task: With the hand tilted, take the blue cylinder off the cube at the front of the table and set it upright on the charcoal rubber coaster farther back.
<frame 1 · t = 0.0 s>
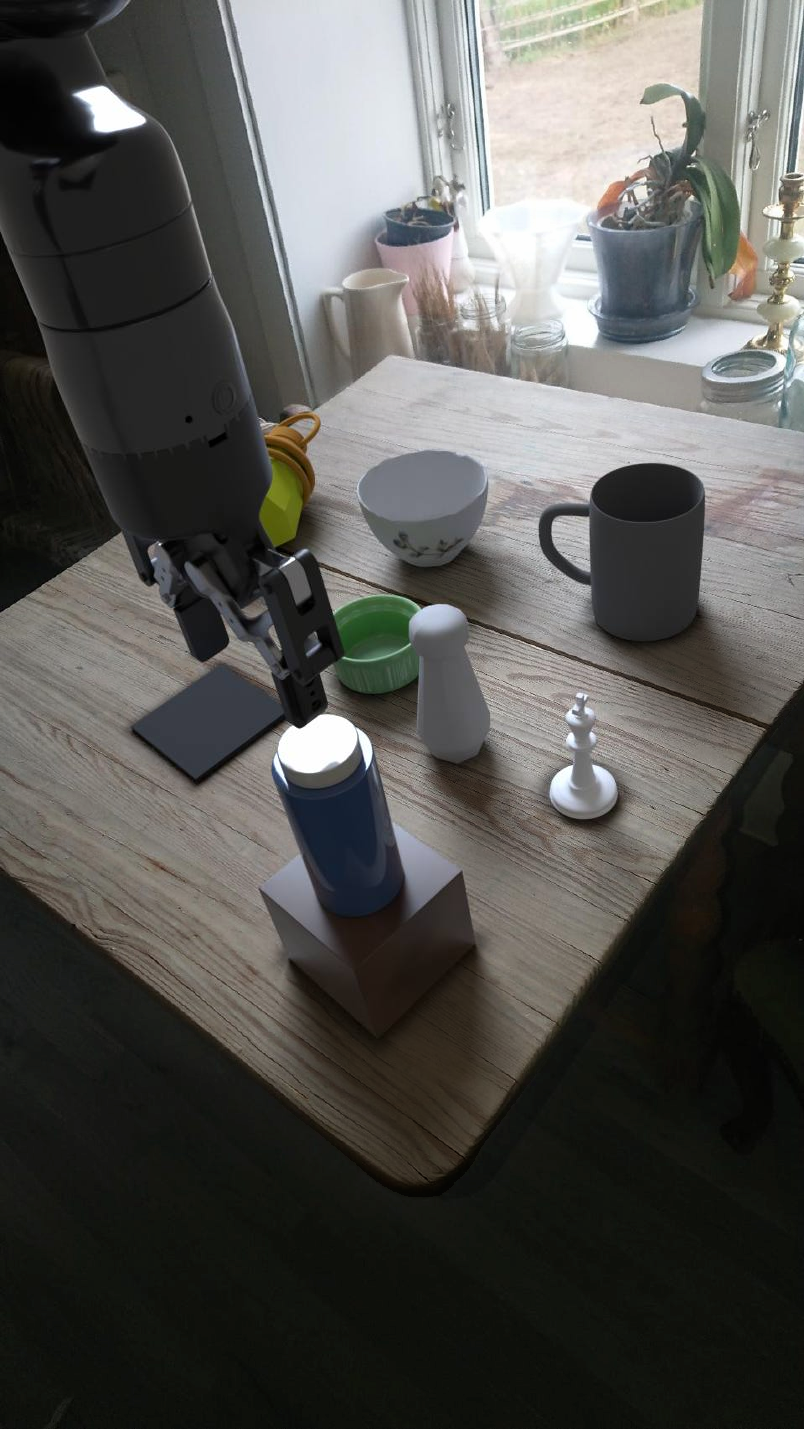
hand: (258, 683, 52), 22 cm above the table, tool pointing down, fingers open, 8 cm apart
coaster: (210, 721, 84), on the table
teacup: (434, 545, 98), on the table
chess piece: (583, 795, 72), on the table
salt shaker: (457, 745, 78), on the table
mug: (618, 609, 87), on the table
blue cylinder: (358, 878, 59), point 8 cm above the table, touching cube
ramekin: (382, 666, 86), on the table
cube: (380, 950, 65), on the table
plumb bob: (277, 524, 106), on the table
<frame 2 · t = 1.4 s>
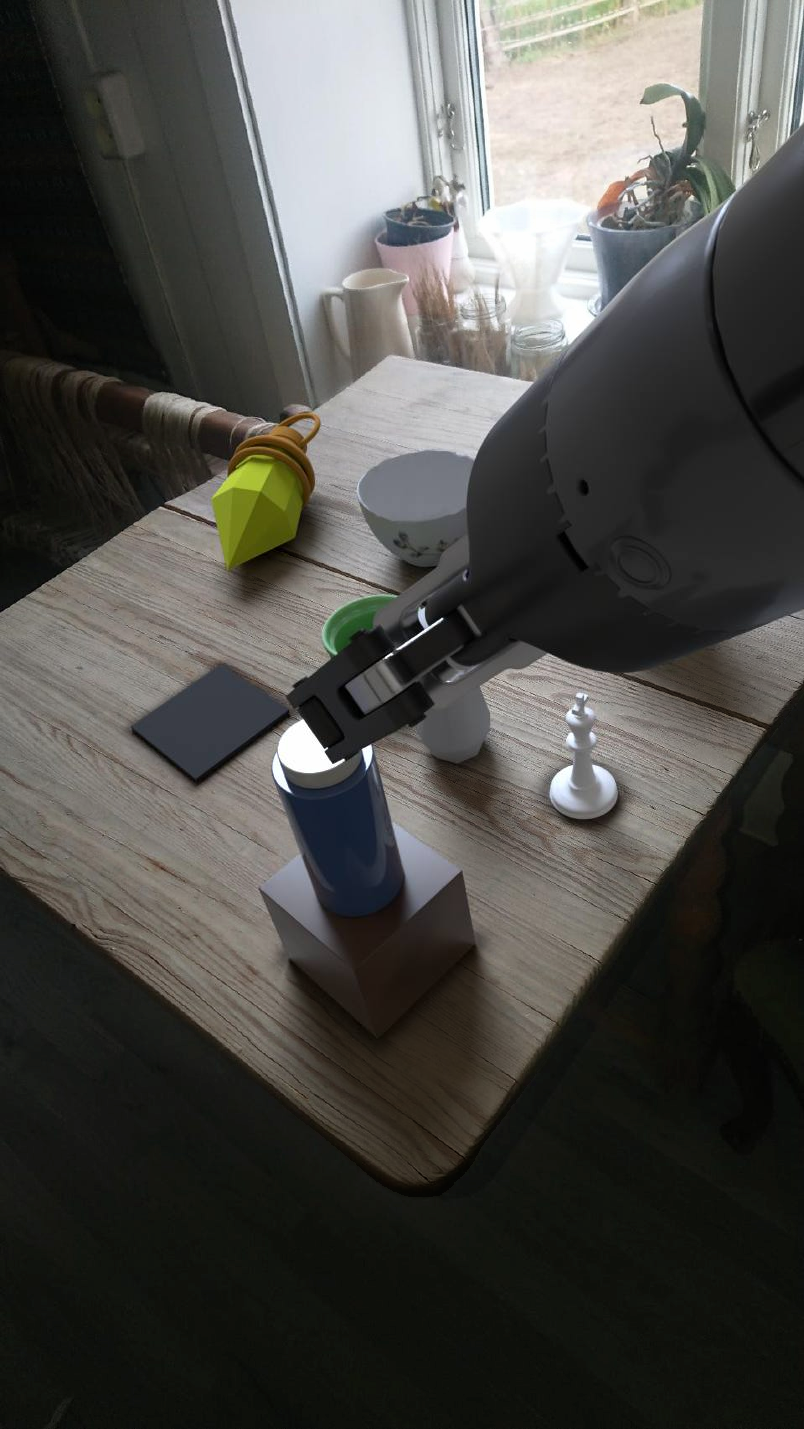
hand: (426, 647, 36), 33 cm above the table, tool tilted 45°, fingers open, 8 cm apart
nothing on the table moved.
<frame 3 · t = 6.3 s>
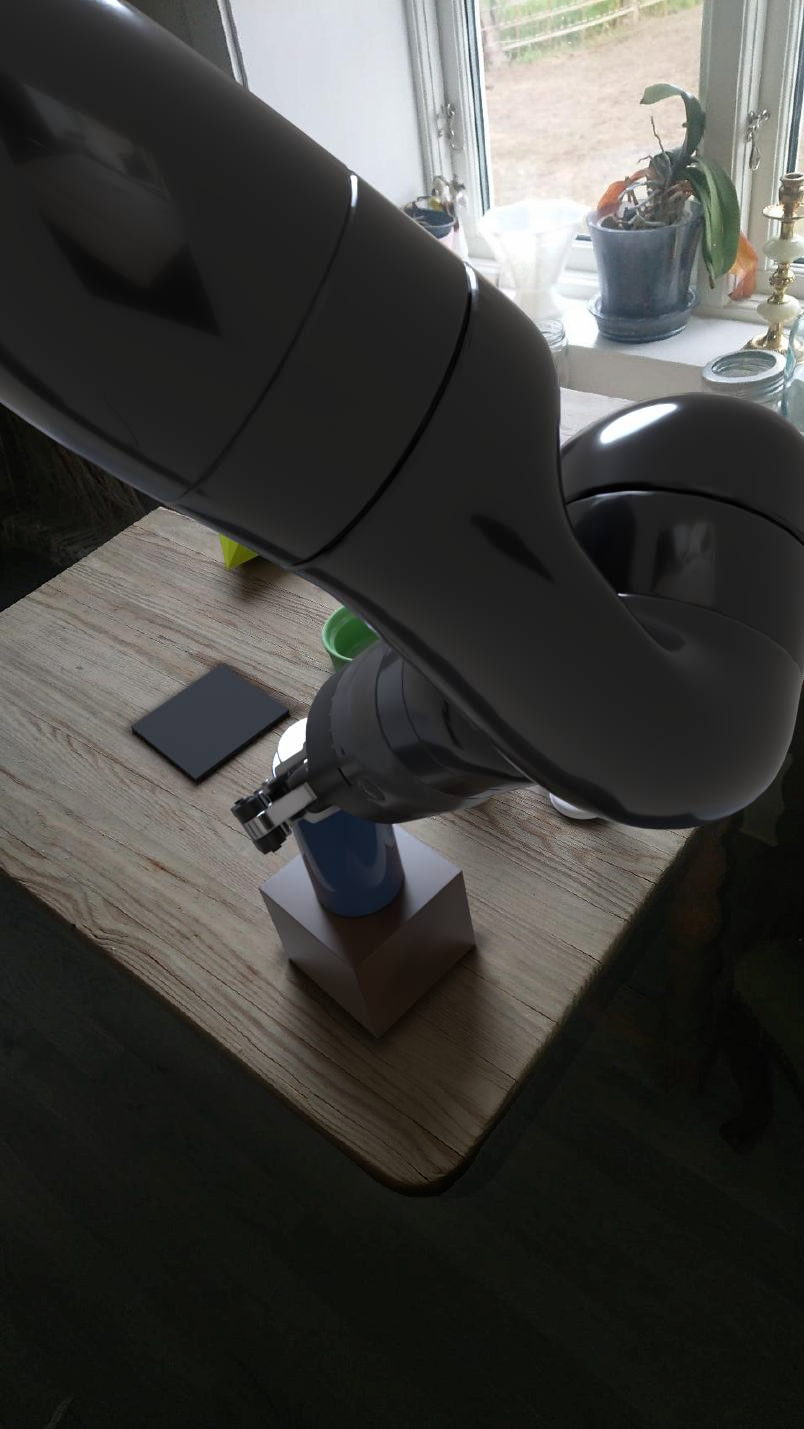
hand: (313, 774, 55), 16 cm above the table, tool tilted 45°, fingers closed on blue cylinder, 5 cm apart
blue cylinder: (358, 878, 59), point 8 cm above the table, touching gripper, cube
everything else where it was.
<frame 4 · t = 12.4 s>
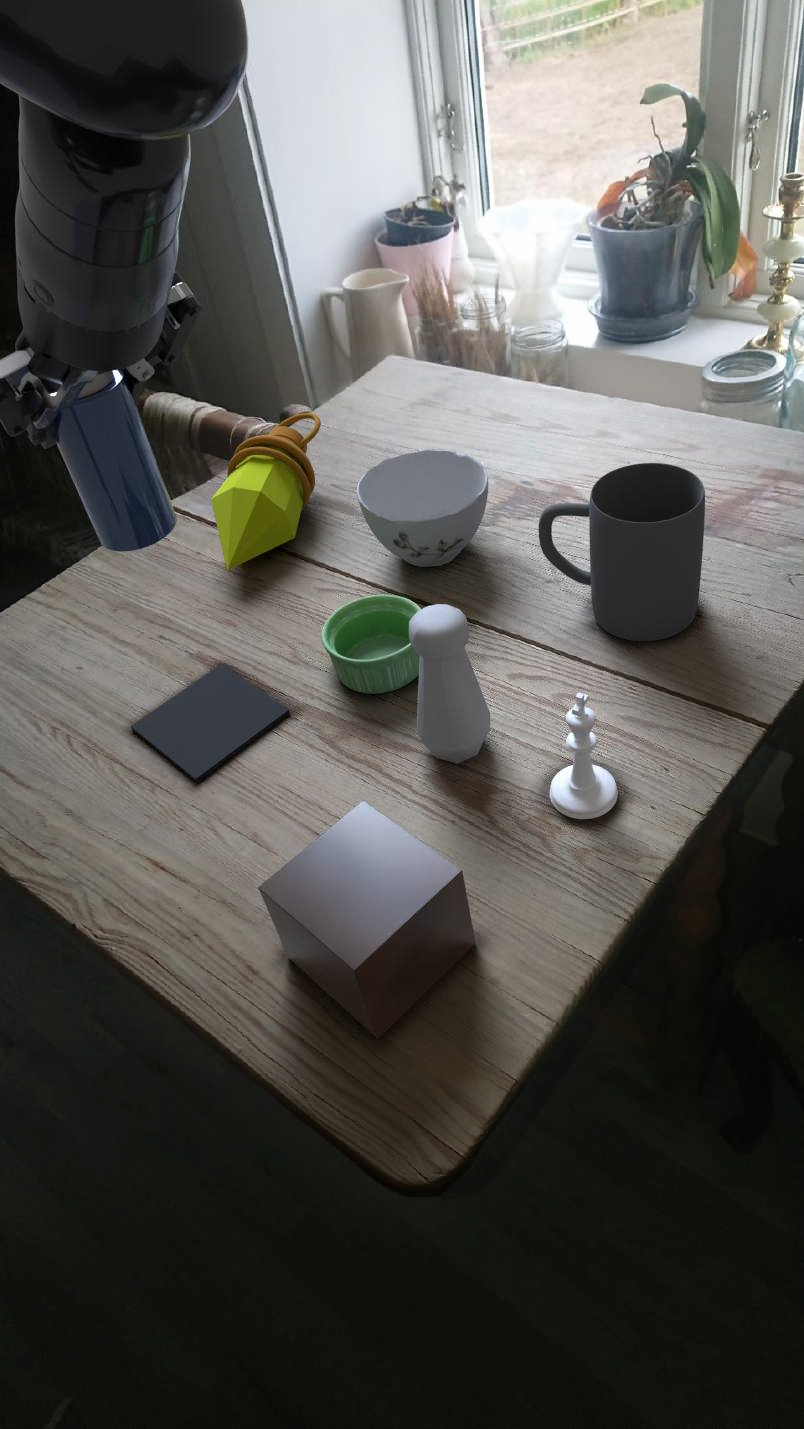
hand: (83, 414, 64), 29 cm above the table, tool tilted 45°, fingers closed on blue cylinder, 5 cm apart
blue cylinder: (138, 528, 69), point 21 cm above the table, touching gripper
everything else where it was.
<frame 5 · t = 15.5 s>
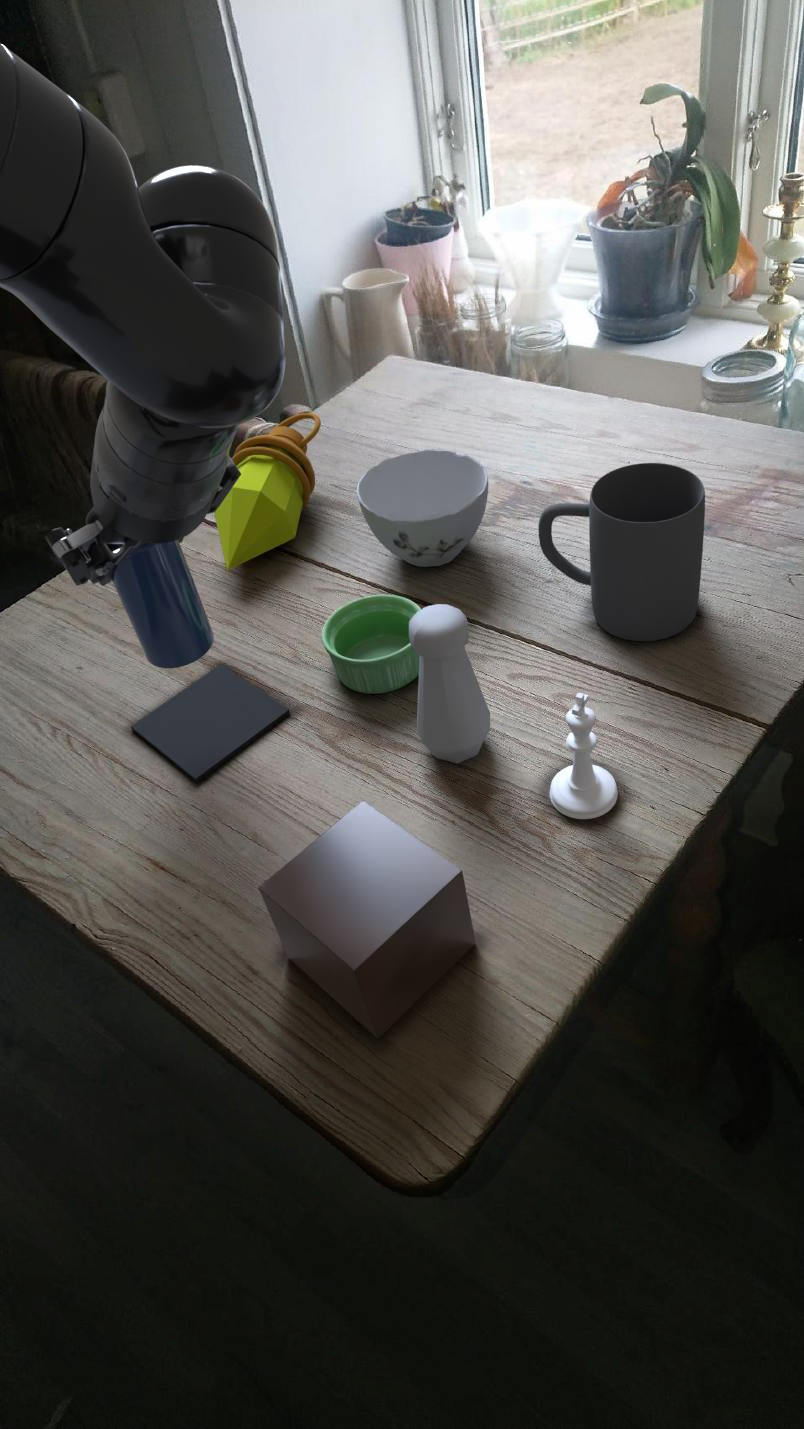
hand: (134, 553, 74), 17 cm above the table, tool tilted 45°, fingers closed on blue cylinder, 5 cm apart
blue cylinder: (180, 645, 78), point 9 cm above the table, touching gripper
everything else where it was.
when the fingers open (9 cm above the table, at t = 18.3 s): blue cylinder stays where it is, resting on coaster.
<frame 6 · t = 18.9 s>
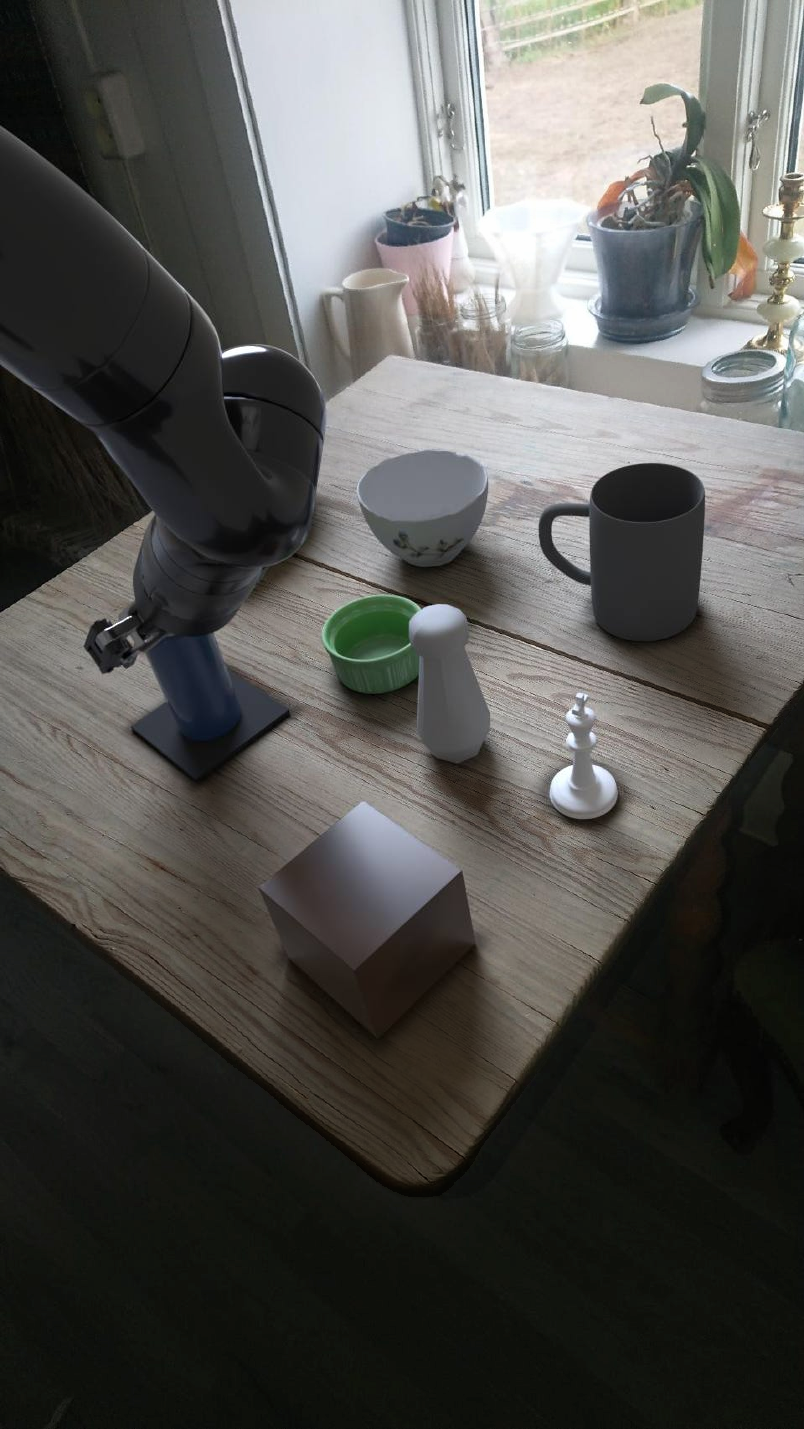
hand: (167, 629, 78), 10 cm above the table, tool tilted 45°, fingers open, 8 cm apart
blue cylinder: (210, 718, 84), resting on coaster
everything else where it was.
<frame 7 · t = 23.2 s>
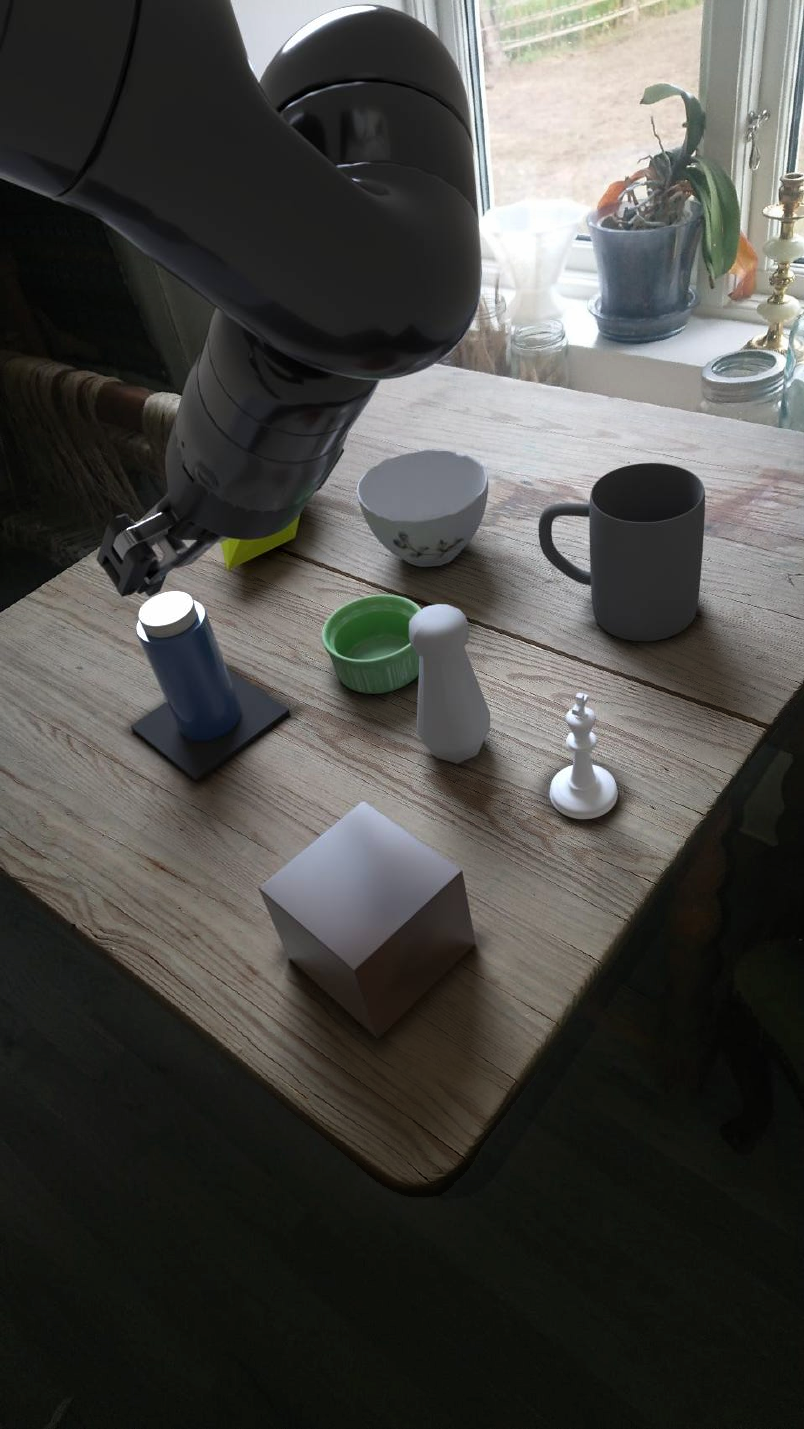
hand: (202, 548, 61), 23 cm above the table, tool tilted 45°, fingers open, 8 cm apart
nothing on the table moved.
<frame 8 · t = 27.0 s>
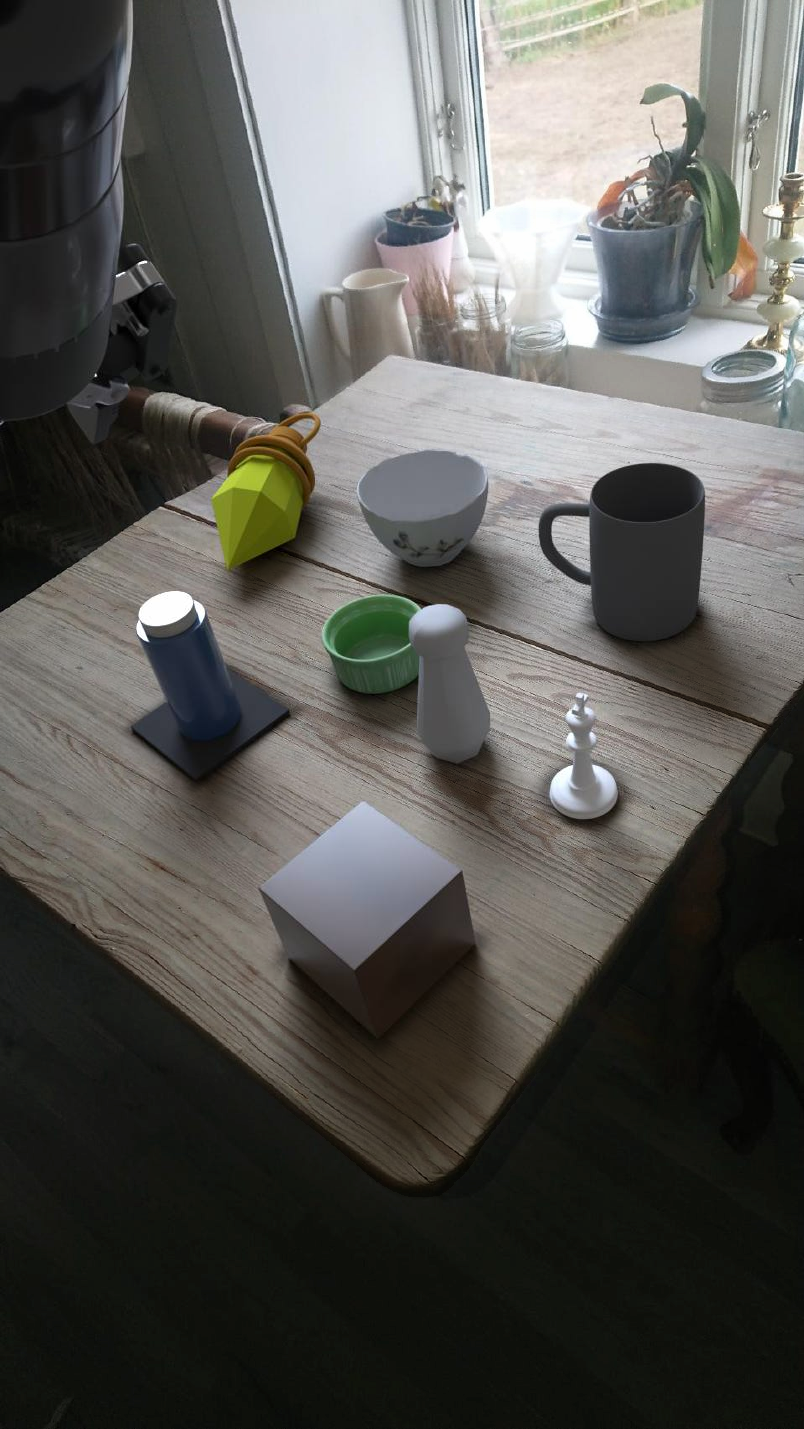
hand: (1, 465, 43), 37 cm above the table, tool tilted 45°, fingers open, 8 cm apart
nothing on the table moved.
at the end: blue cylinder inside the target area on the coaster (0.1 cm from its centre), point 0.4 cm above the coaster's base; blue cylinder tilted 0°; blue cylinder touching coaster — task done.
